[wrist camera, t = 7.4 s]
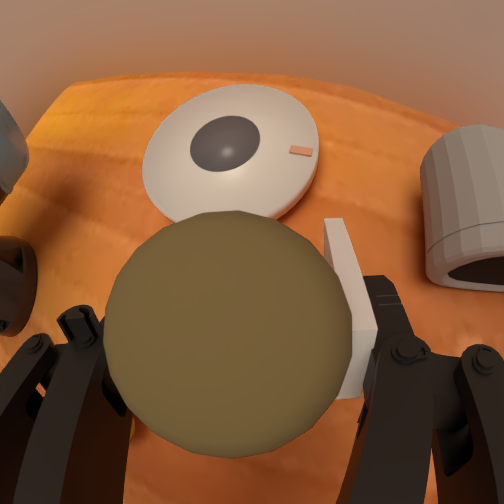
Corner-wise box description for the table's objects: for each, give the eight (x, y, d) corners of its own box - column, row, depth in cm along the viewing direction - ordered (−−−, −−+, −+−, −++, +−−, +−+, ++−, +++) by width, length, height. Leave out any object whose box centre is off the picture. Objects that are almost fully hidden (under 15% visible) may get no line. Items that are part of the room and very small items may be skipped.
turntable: (126, 217, 29) (114, 209, 27) (188, 95, 33) (182, 82, 31) (296, 255, 24) (294, 246, 22) (330, 104, 29) (330, 89, 27)
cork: (210, 291, 16) (67, 205, 6) (320, 272, 15) (344, 135, 5) (223, 400, 14) (83, 478, 4) (338, 385, 13) (410, 477, 3)
